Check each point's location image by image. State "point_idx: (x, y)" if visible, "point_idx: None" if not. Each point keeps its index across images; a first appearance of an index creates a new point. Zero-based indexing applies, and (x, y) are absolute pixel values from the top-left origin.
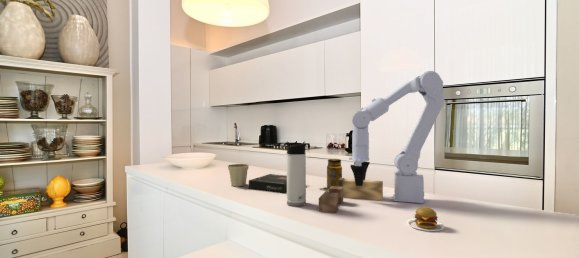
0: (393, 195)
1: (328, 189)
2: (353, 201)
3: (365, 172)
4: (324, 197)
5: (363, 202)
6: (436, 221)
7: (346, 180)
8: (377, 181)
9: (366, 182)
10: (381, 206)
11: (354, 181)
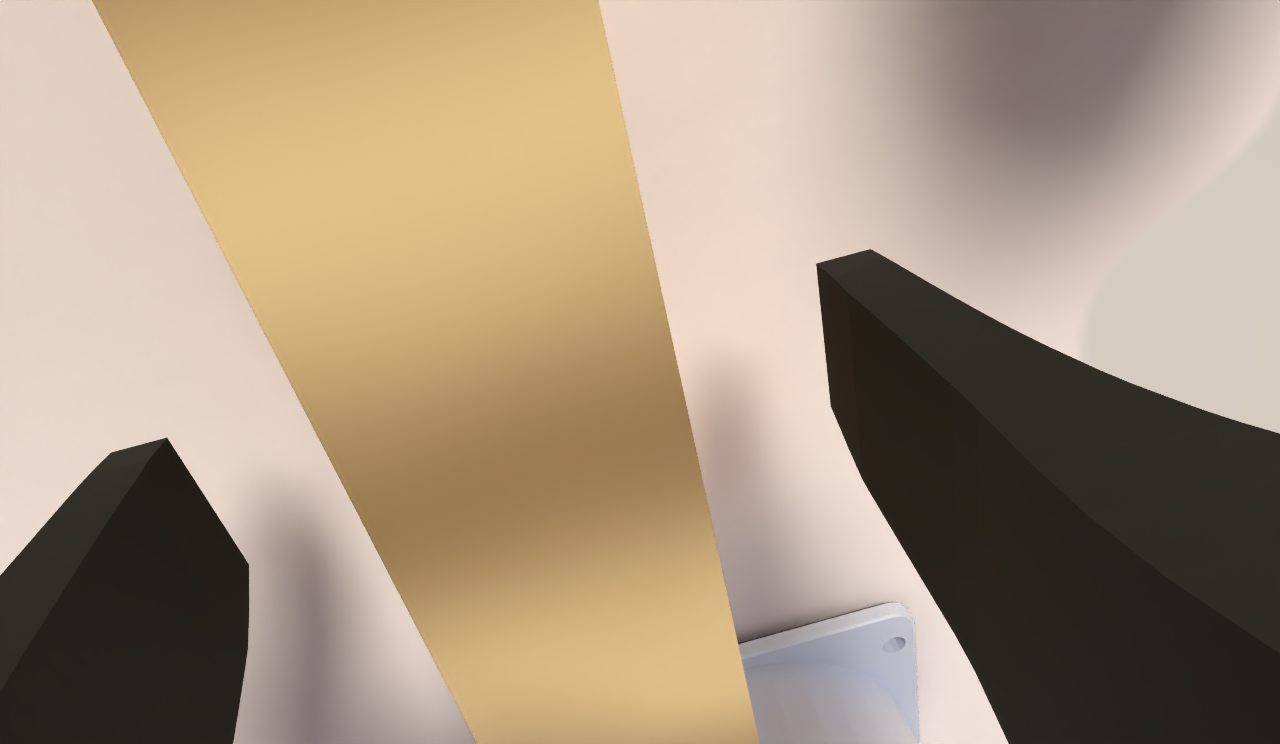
0: (825, 637)
1: None
2: (39, 222)
3: (972, 660)
4: None
5: (140, 408)
6: None
7: (241, 57)
8: None
9: (433, 650)
10: None
11: (296, 383)
